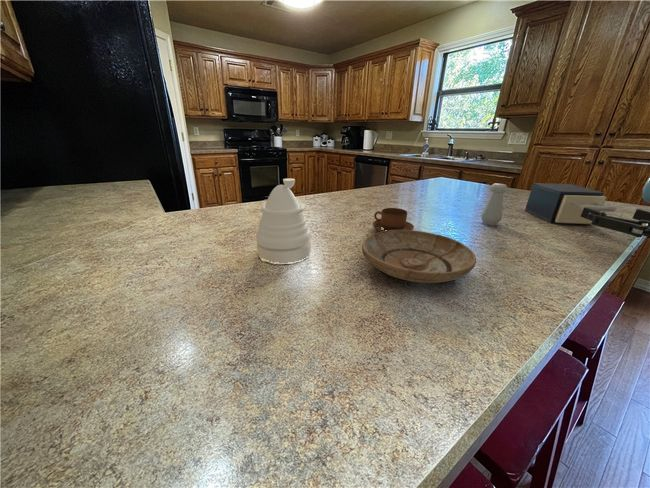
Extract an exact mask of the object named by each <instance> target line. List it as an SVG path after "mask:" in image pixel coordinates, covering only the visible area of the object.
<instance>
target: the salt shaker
mask: <svg viewBox="0 0 650 488" xmlns="http://www.w3.org/2000/svg"><path fill="white" fill-rule="evenodd" d="M490 191H491V193H490V196H489V197H488V199H487V202H486V204H485V206H484V208H483V211H482V213H481V215H480V217H481V222H482V224H483V225H485V226H491V227H494V226H497V225H498V224H499V223H500V222H501V221H502V218H503V205H504V204H503V203H504V194H505V193H506V192H507V191H508V185H507V184H504V183H498V182H497V183H493V184H491V186H490Z"/></svg>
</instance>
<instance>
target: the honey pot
mask: <svg viewBox="0 0 650 488" xmlns="http://www.w3.org/2000/svg"><path fill="white" fill-rule="evenodd" d="M282 181H283V184H278V185H276V186H275V187H274V188H273V189H272V190H271V192H270V193H269V195H268V197H267V199H266V202H265V203H264V204H263V205H262V206H261V208H260V209H261V211H262V214H261V218H260V219H259V225H258V228H257V229H258V230H257V232H256V248H257V255H258V254H259V256H260V257H262V258H264V259H266V260H269V261H272V262H279V263H288V262H295V261H299V260H302V259H304V258H306V257H307V256H309V254H310V252H311V253H312V240H311V230H310V229H309V226H308V223H307V219H306V217H305V215H304V211H305V210H306V206H305V204H304V203H302V202H300V201H298V199H297V198H296V196H295V194H294V193H293V191H292V190H291V189H292V188H293V187H294V186H295V183H296V179H295V178H290V177H289V178H283V179H282ZM310 255H311V254H310ZM309 257H310V256H309Z"/></svg>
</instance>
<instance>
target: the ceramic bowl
mask: <svg viewBox="0 0 650 488" xmlns="http://www.w3.org/2000/svg"><path fill="white" fill-rule="evenodd" d="M361 252H362V255H363V256H364V257H365V259H366V260H367V261H368V263H369V264H370V265H372V266H373V267H374V268H376V269H377V270H378V271H381V272H382V273H384V274H386V275H388V276H390V277H393V278H396V279H399V280H404V281H408V282H410V283H411V282H412V283H421V284H438V283H439V284H441V283H444V282H450V281H454V280H457V279H460V278H462V277H464V276H465V275H468V274H469V273H470V272H471V271H472V270H473V269H474V268H475V266H476V262H477V257H476V254H475V252H473V250H472V249H471V248H470V247H468V246H466V245H465V244H464V243H463V242H460V241H458V240H455V239H453V238H450V237H448V236H445V235H441V234H437V233H433V232H427V231H423V230H422V231H421V230H414V229H413V230H388V231H382V232H380V231H378V232H375V233H371V234H370V235H368V236H366V238H365V239H363V241H362V243H361Z"/></svg>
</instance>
